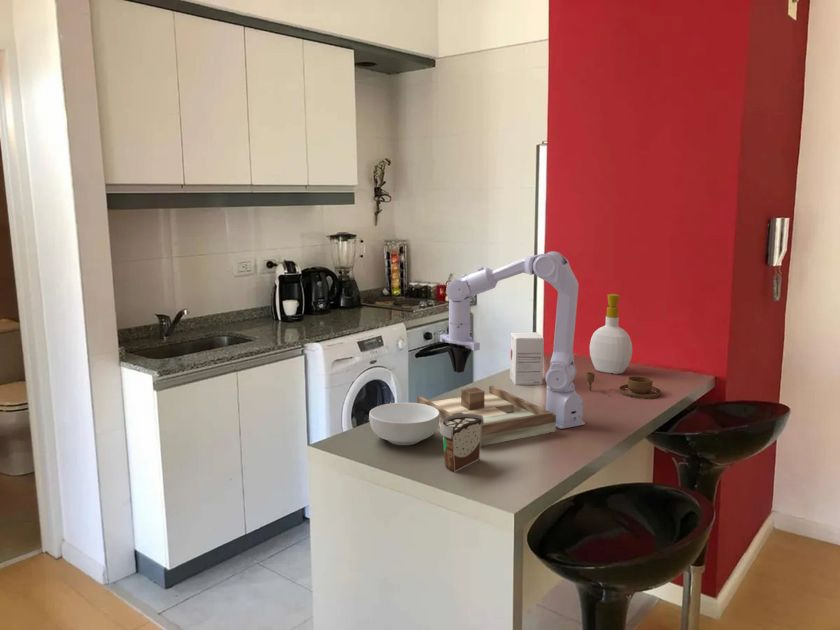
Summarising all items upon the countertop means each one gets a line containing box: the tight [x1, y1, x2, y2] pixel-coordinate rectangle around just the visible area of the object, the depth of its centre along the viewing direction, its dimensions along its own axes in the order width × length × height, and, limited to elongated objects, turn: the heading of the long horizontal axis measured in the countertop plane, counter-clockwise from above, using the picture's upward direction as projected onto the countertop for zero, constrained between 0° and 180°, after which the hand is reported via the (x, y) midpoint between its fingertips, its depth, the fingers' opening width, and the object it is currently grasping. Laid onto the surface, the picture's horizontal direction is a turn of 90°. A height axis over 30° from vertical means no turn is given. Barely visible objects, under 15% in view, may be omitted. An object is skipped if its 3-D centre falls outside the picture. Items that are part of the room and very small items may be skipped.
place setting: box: [585, 371, 662, 400], centre depth 208 cm, size 18×20×6 cm
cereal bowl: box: [368, 402, 440, 446], centre depth 166 cm, size 17×17×7 cm
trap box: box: [416, 385, 556, 447], centre depth 179 cm, size 29×24×5 cm
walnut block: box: [460, 387, 486, 410], centre depth 184 cm, size 4×4×4 cm
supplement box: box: [509, 331, 545, 386], centre depth 217 cm, size 9×9×15 cm
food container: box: [439, 414, 484, 473], centre depth 152 cm, size 12×6×10 cm, turn 141°
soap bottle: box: [589, 293, 633, 375], centre depth 228 cm, size 14×9×26 cm, turn 52°
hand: (458, 371), depth 189 cm, fingers closed
